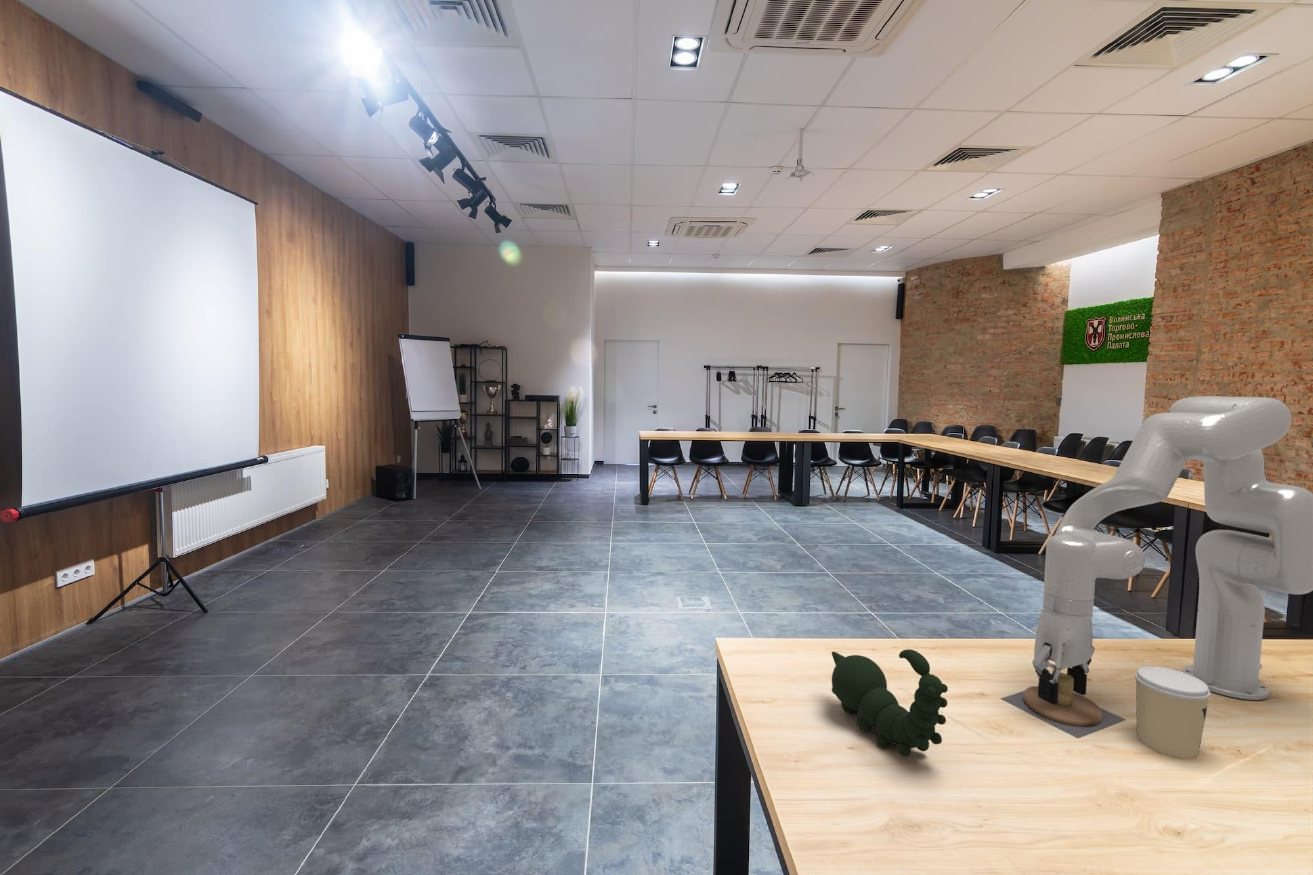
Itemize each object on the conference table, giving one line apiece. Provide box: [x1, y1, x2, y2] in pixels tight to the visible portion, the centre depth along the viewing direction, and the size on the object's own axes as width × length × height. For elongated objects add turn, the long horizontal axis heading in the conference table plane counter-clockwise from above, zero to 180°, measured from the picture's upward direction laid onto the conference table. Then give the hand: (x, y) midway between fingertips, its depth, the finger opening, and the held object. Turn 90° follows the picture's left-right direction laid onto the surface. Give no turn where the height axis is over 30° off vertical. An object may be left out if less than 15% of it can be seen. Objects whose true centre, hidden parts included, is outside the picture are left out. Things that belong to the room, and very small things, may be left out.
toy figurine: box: [831, 648, 949, 758], centre depth 101 cm, size 9×19×25 cm
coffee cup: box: [1134, 665, 1211, 760], centre depth 97 cm, size 9×9×12 cm
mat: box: [1000, 690, 1127, 739], centre depth 108 cm, size 14×14×1 cm
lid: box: [1023, 672, 1102, 727], centre depth 108 cm, size 12×12×6 cm
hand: (1061, 695), depth 108 cm, fingers open, 7 cm apart
